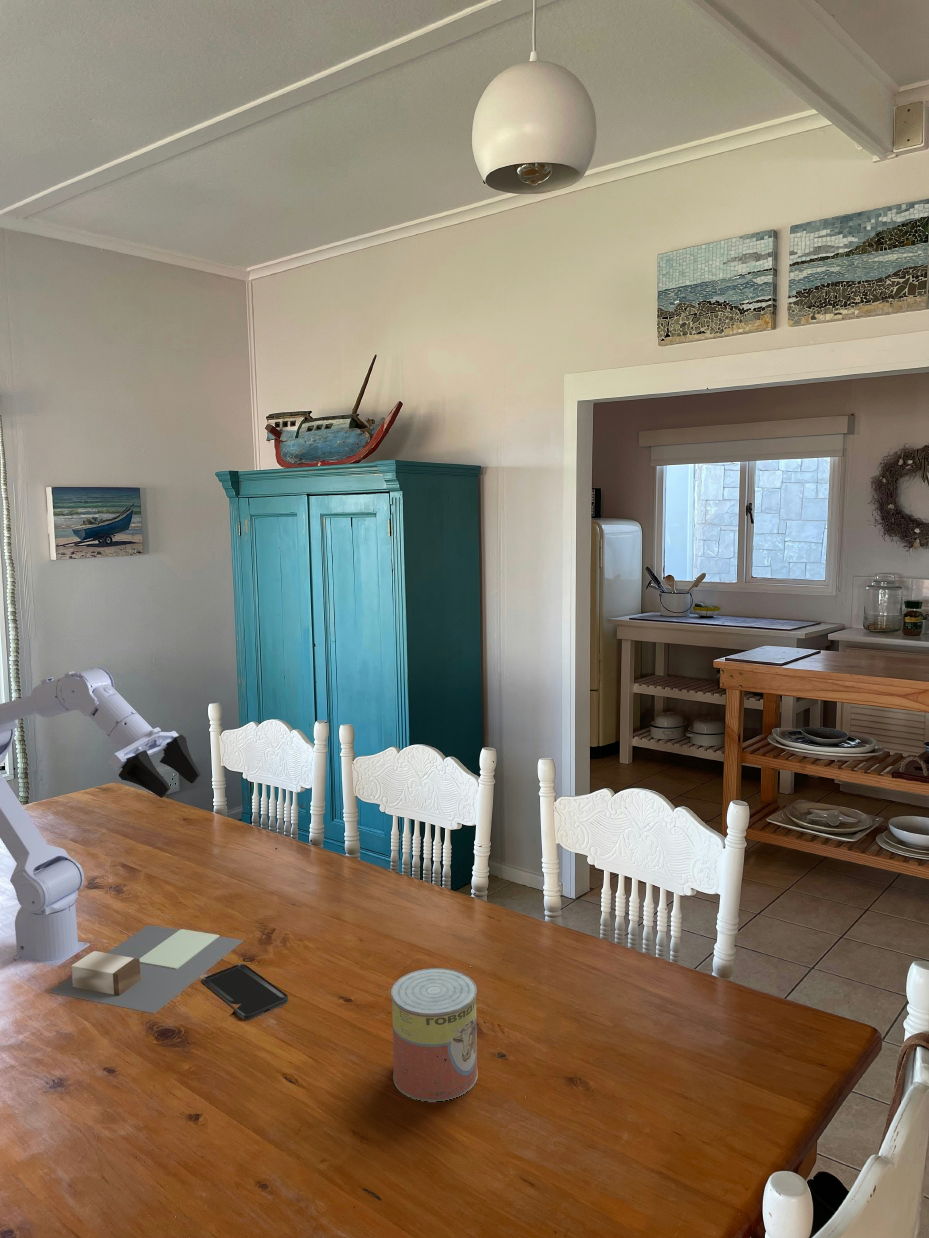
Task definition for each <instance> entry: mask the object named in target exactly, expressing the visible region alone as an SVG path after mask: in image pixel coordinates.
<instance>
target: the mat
mask: <svg viewBox="0 0 929 1238" xmlns="http://www.w3.org/2000/svg"><path fill="white" fill-rule="evenodd" d="M179 930H180V929H178V928H177V929H176V928H171V927H167V926H165V927H164V926H159V925H151V924H147V925H146V926H145V927H144V928H142V929H141V930H139V931H137V932H136V933H135V934H133V935H131V936H130V937H128V938H127V939H125V940H123V942H121V943H119V944H118V945H116V946H115V947H113V948H112V949H110V950H109V951H108V952H106V953H108V954H114V955H120V956H125V957H131V958H136V959H140V958H141V957H143V956H144V955H145V954H147V953H148V952H150V951H151V950H152V949H154V948H155V947H157V946H158V945H159V944H161V943H162V942H164V941H165V940H166V939H168V938H169V937H171V936H172V935H173V934H175V933H176V932H178V931H179ZM242 942H244V940H243V939H240V938H239V939H238V938H234V937H233V938H232V937H227V936H220V935H219V937H218V938H216V939H215V940H214V941H213V942H211V943H210V944H209V945H207V946H206V947H205V948H204V949H202V950H201V951H200V952H198V953H197V954H196V955H195V956H193V957H192V958H191V959H189V960H188V961H187V962H186V963H184V964H183V965H182V966H180V967H179V968H178V969H172V968H167V967H161V966H155V965H150V964H144V963H140V975H141V980H140V981H138V982H137V983H136V984H134V985H133V986H132V987H130V988H129V989H128V990H126V991H125V992H124V993H122V994H121V995H120V996H118V995H113V994H108V993H103V992H98V991H93V990H88V989H83V988H78V987H73V981H72V976H70V977H68V978H67V979H66V980H64V981H63V982H61V983H60V984H58V985H57V986H55V987H53V988H52V989H51V990H49V991H48V994H49V993H50V994H54V995H58V996H65V997H69V998H75V999H78V1000H80V999H81V1000H84V1001H89V1002H93V1003H99V1004H104V1005H109V1006H115V1007H120V1008H124V1009H129V1010H133V1011H134V1010H135V1011H139V1012H142V1013H149V1014H156V1013H157V1012H158V1011H160V1010H161V1009H162V1008H164V1007H165V1006H166V1005H167V1004H168V1003H170V1002H171V1001H172V1000H174V998H176V997H177V996H178V995H179V994H181V993H182V992H183V991H184V990H185V989H187V987H189V986H190V985H191V984H193V983H194V982H195V981H196V980H197V979H199V978H200V977H201V976H203V975H204V974H205V973H206V972H207V971H208V970H210V969H212V967H213V966H214V965H216V964H217V963H218V962H219V961H221V960H222V959H223V958H225V956H227V955H228V954H229V953H230V952H232V951H233V950H235V948H236V947H238V946H239V945H240V944H241V943H242Z"/></svg>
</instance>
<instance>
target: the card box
mask: <svg viewBox="0 0 929 1238" xmlns="http://www.w3.org/2000/svg"><path fill="white" fill-rule="evenodd" d="M71 977H72V981H73V987H78V988H83V989H88V990H93V991H98V992H103V993H108V994H113V995H118V996H120V995H121V994H122V993H124V992H125V991H126V990H128V989H129V988H130V987H132V986H133V985H134V984H136V983H137V982H138V981H140V980H141V975H140V959H136V958H131V957H125V956H120V955H114V954H108V953H107V952H102V951H97V950H94V951H91V952H90V953H88V954H87V955H86V956H84V957H82V958H81V959H79V960H78V961H76V962H75V963H74V964H73V963H72V965H71Z"/></svg>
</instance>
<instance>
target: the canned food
mask: <svg viewBox="0 0 929 1238" xmlns="http://www.w3.org/2000/svg"><path fill="white" fill-rule="evenodd" d="M477 992H478V990H477V985H476V983H475V982H474V980H473V979H472V978H471V977H470V976H468V975H466V974H465V973H463V972H460V971H459V970H458V971H457V970H453V969H448V968H442V967H441V968H440V967H439V968H438V967H434V968H433V967H431V968H424V969H419V970H415V971H412V972H408V973H407V974H404V975H403V976H401V977H399V979H397V980H396V981H395V982H394V983H393V985H392V987H391V989H390V996H391V1012H392V1014H391V1015H392V1049H393V1050H392V1051H393V1052H392V1053H393V1055H392V1057H393V1059H392V1060H393V1074H392V1075H393V1076H392V1079H393V1083H394V1085H395V1088H397V1090H398V1091H399V1092H400V1093H401V1094H403V1095H404V1096H406V1097H408V1098H410V1097H411V1098H410V1099H412V1100H415V1101H418V1100H421V1101H420V1102H424V1101H428V1102H427V1103H437V1102H436V1101H443V1102H446V1101H445V1100H448V1101H450V1100H449V1099H452V1098H455V1099H457V1098H456V1097H458V1098H460V1097H461V1095H462V1096H464V1095H465V1094H467V1093H468V1092H469V1091H471V1089H473V1087H474V1086H475V1085H476V1082H477V1081H478V1077H479V1076H478V1075H479V1070H478V1056H477V1055H478V1050H477V1049H478V1047H477V1045H478V1043H477V1040H478V1039H477ZM474 1084H475V1085H474ZM467 1091H468V1092H467ZM466 1092H467V1093H466ZM463 1094H464V1095H463ZM459 1096H460V1097H459ZM416 1099H417V1100H416ZM452 1100H453V1099H452Z"/></svg>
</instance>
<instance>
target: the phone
mask: <svg viewBox="0 0 929 1238" xmlns="http://www.w3.org/2000/svg"><path fill="white" fill-rule="evenodd" d="M201 983H202V984H203V985H204V986H205V987H206V988H208V989H209V990H210V991H211V992H213V993H214V994H215V995H216V996H218V997H219V998H220V999H221V1000H222V1001H223V1002H225V1003H226V1004H227V1005H228V1006H230V1007H231V1008H232V1009H233V1010H232V1012H233V1013H234V1014H235V1015H236V1016H237V1017H239V1018H240V1020H241V1019H242V1020H243V1021H250V1020H254V1019H256V1018H258V1017H261V1016H263V1015H265V1014H267V1013H270V1012H272V1011H274V1010H276V1009H278V1008H281V1007H283V1006H285V1005H287V1004H288V1003H289V995H288V994H287V993H286V992H284V991H282V990H281V989H280V988H279V987H277V986H276V985H274V984H273V983H272V982H270V981H269V980H267V979H266V978H265V977H263V976H262V975H261V974H259V973H258V972H257V971H255V970H254V969H253V968H251V967H250V966H249V965H247V964H246V963H245V964H244V963H239V964H235V965H232V966H230V967H227V968H225V969H222V970H219V971H217V972H215V973H212V974H210V975H207V976H205V977H203V978H202V979H201ZM234 1005H238V1006H237V1008H236V1007H235V1006H234Z"/></svg>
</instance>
